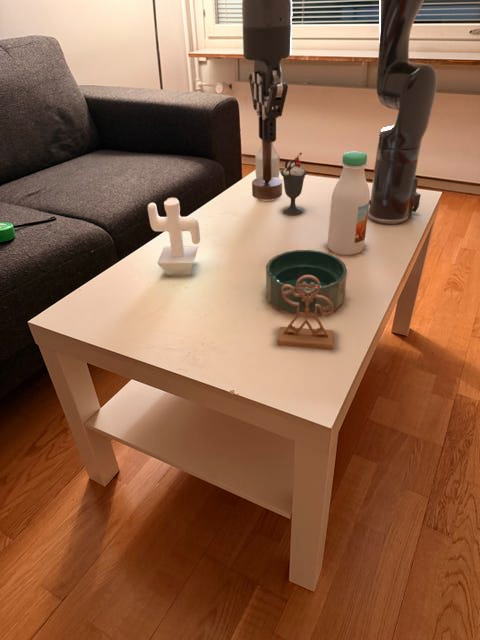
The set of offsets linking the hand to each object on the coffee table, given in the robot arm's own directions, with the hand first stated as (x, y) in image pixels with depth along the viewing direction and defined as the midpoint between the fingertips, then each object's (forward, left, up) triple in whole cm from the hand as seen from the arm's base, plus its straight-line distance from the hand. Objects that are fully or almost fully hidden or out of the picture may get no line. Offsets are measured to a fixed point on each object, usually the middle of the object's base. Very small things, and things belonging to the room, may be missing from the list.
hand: (267, 139), depth 81 cm
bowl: (-3, +13, -25) cm, 29 cm away
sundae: (-16, -25, -25) cm, 39 cm away
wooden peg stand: (0, 0, -10) cm, 10 cm away
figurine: (+17, -5, -25) cm, 31 cm away
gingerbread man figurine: (+2, +25, -25) cm, 36 cm away
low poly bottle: (-13, -36, -25) cm, 45 cm away
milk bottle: (-19, -2, -25) cm, 31 cm away
